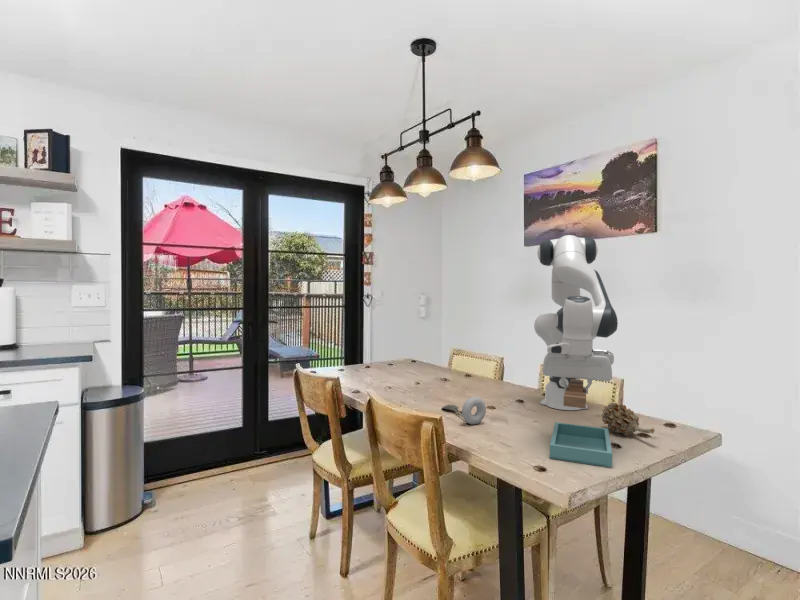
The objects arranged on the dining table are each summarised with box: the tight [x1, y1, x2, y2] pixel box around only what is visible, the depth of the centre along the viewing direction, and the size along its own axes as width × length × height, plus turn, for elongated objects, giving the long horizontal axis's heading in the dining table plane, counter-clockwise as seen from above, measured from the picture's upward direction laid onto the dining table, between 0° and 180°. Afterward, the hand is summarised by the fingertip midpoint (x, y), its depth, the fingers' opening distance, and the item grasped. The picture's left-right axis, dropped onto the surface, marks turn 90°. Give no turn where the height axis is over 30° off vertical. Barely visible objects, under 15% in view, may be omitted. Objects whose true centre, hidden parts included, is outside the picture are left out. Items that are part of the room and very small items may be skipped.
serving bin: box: [549, 421, 613, 468], centre depth 139 cm, size 24×16×4 cm
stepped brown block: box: [564, 379, 587, 408], centre depth 139 cm, size 17×6×5 cm, turn 157°
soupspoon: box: [441, 404, 468, 424], centre depth 175 cm, size 22×3×7 cm
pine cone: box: [601, 402, 656, 437], centre depth 152 cm, size 22×10×10 cm, turn 21°
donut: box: [461, 396, 487, 425], centre depth 163 cm, size 10×4×10 cm, turn 118°
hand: (575, 392), depth 141 cm, fingers closed on stepped brown block, 4 cm apart
